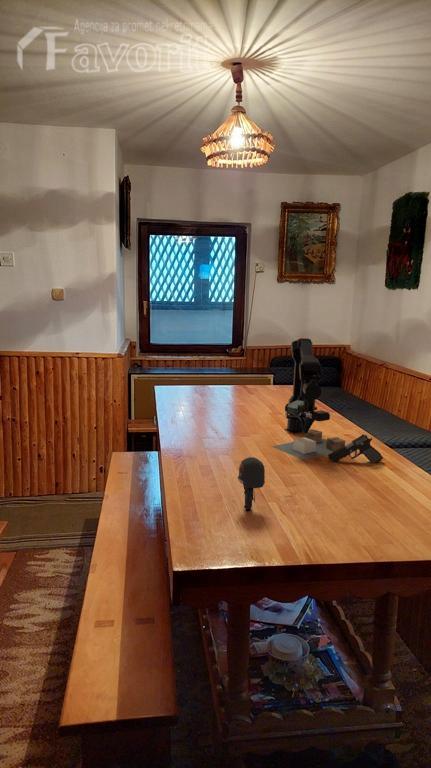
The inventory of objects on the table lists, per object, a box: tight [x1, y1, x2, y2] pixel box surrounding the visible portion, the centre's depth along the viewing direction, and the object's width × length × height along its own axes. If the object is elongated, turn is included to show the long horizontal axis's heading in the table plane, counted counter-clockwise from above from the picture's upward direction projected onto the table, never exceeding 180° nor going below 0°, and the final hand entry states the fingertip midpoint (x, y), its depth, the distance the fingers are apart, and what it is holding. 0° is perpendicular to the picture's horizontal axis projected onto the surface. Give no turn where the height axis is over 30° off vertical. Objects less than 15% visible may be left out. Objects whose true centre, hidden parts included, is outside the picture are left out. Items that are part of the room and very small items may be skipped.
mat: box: [271, 438, 333, 461], centre depth 196 cm, size 18×26×1 cm
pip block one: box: [304, 428, 323, 443], centre depth 204 cm, size 5×5×4 cm
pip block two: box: [326, 436, 346, 452], centre depth 195 cm, size 5×5×4 cm
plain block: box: [292, 436, 316, 454], centre depth 192 cm, size 6×6×4 cm
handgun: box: [327, 434, 384, 464], centre depth 181 cm, size 17×2×12 cm
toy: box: [237, 456, 266, 512], centre depth 139 cm, size 9×8×15 cm
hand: (305, 433), depth 191 cm, fingers closed
